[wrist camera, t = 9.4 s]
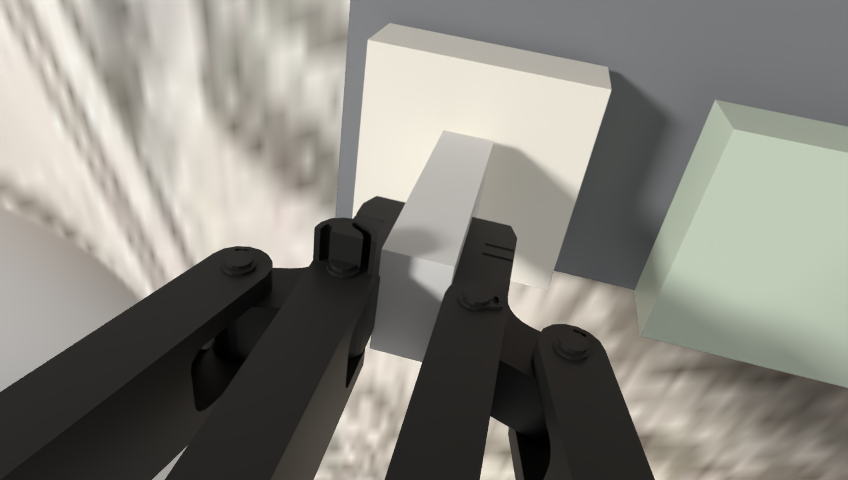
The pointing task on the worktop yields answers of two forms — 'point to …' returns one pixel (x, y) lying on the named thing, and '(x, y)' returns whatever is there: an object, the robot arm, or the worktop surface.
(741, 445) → the worktop surface
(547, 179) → the cream key
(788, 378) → the worktop surface
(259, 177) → the worktop surface
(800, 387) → the worktop surface
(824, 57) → the keypad board
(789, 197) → the sage key
